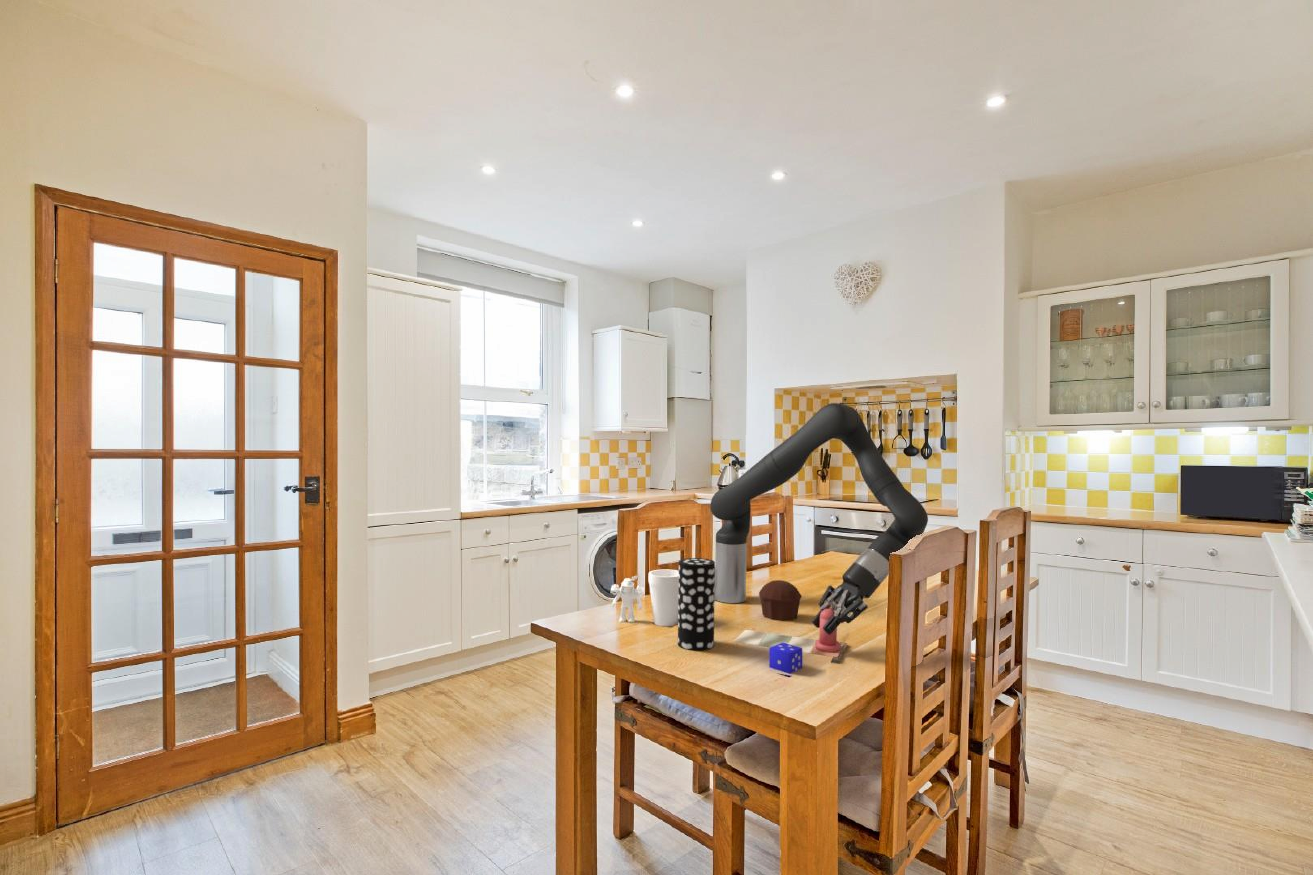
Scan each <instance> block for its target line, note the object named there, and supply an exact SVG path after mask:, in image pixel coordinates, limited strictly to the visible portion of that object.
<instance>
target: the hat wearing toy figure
mask: <svg viewBox="0 0 1313 875" xmlns="http://www.w3.org/2000/svg"><path fill="white" fill-rule="evenodd" d="M639 577H640V575H639V574H637V575H634V576H631V578H629V577H626V578H624V580H622V582H621V583H620V584H621V586H619V584H617V583H615V584H614V583H613V584H612V585H611V588H610V594H612V595H614V596H615V595H616V596H615V598H614V599H613V601H612V603H611V607H612V608H614V607H615V605H617V604H618V600H620V598H621V604H620V616H619V620H618V622H620V623H625V622H626V621H627V622H628V623H634V622H635V615H634V614H635V612H634V602H635V601H636V603H635V607H638V608H637V609H638V611H639V610H642V607H643V605H642V600H641V598H640V596H641V595H642V596H644V595H645V588H644V587H643V586H641V585H639V584H638V585H636V587H635V582H634V581H635V580H638V578H639ZM626 611H627V612H628V613H627V612H626ZM626 614H628V620H627V615H626Z"/></svg>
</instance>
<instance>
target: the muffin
mask: <svg viewBox="0 0 1313 875" xmlns="http://www.w3.org/2000/svg"><path fill="white" fill-rule="evenodd" d="M758 595H759V598H760V606H761V612H762V615H763V617H764V618H765V619H769V620H772V621H780V622H783V621H784V622H785V621H793V620H797V619H798V614H799V608H800V603H801V599H802V594H801V593H800V591H799V589H798V588H797V587H796V586H795V585H794V584H793V583H791V582H789V581H786V580H780V579H777V580H771V581H769V582H767V583H765V584H764V585H763V586H762V588H760V590H759V591H758Z"/></svg>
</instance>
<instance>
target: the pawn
mask: <svg viewBox="0 0 1313 875" xmlns="http://www.w3.org/2000/svg"><path fill="white" fill-rule="evenodd" d="M835 612H836V611H833V610H831V609H830V608H829V609H825V610H823V611H822V612H821V614H820V627H819V637H818V638H819V639H815V640H816V641H815V646H814V647H815V648H816V649H817V650H819V651H822V652H829V653H834V652H839V651H840V650H841V644H840V642H839V641H838V640H837V639H838V633H837V632H838V627H837V628H836V629H835V630H834V631H833V632H832V633H831V634H830V635H829V634H827V633H826V632H825V631H824V630H823V626H824V625H825V624H826V623H827V622H828V620H829V619H830V618H831V617H832V616H834V614H835ZM834 617H835V616H834Z"/></svg>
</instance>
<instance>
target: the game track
mask: <svg viewBox="0 0 1313 875" xmlns="http://www.w3.org/2000/svg"><path fill="white" fill-rule="evenodd" d="M816 640H817V639H814V638H813V639H812V638H805V637H800V636H799V637H798V636H792V635H785V634H779V633H770V632H763V631H756V630H749V629H745V630H743V632H741V633H740V634H739V635H738V636H737V637H736V638H735V639H734V640H732V641H733V643H739V644H746V645H752V646H760V647H767V648H770V647H773V646H775V645H778V644H780V643H786V644H790V645H793V646H797V647H800V648H802V653H805V654H812V655H820V656H826V657H832V658H831V661H830V663H833V664H840V663H841V660H842V658H843V657H844V653H845V651H846V649H847V647H848V642H842V641H841V642H839V643H840V644H841V650H840V651H839V652H834V653H829V652H822V651H819V650H817V649H816V648H815V641H816Z"/></svg>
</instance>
